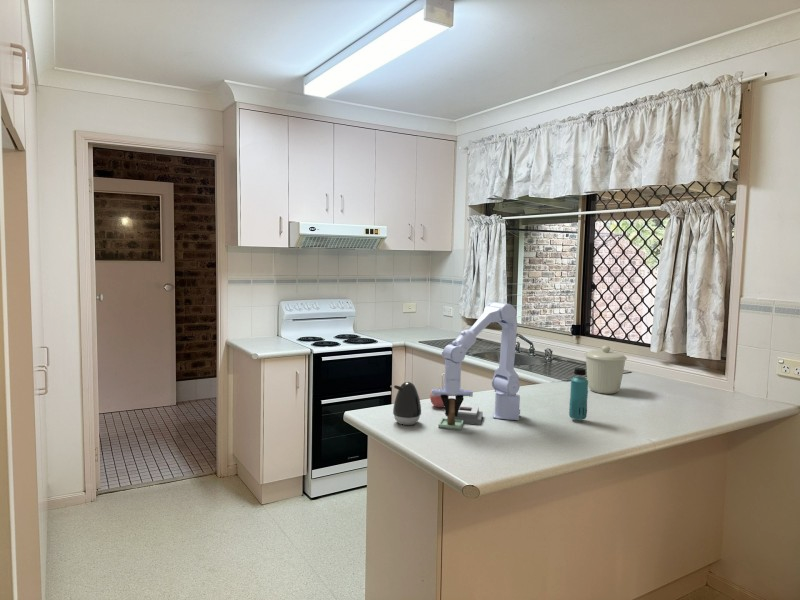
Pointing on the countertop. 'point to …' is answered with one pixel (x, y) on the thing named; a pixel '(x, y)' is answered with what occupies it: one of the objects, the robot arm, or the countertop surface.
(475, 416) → the box
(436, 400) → the apple
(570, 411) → the beverage bottle
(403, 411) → the pump dispenser
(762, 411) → the countertop surface
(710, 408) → the countertop surface
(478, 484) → the countertop surface
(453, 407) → the brown wooden cylinder
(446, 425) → the rest tray
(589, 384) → the canister
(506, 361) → the robot arm
